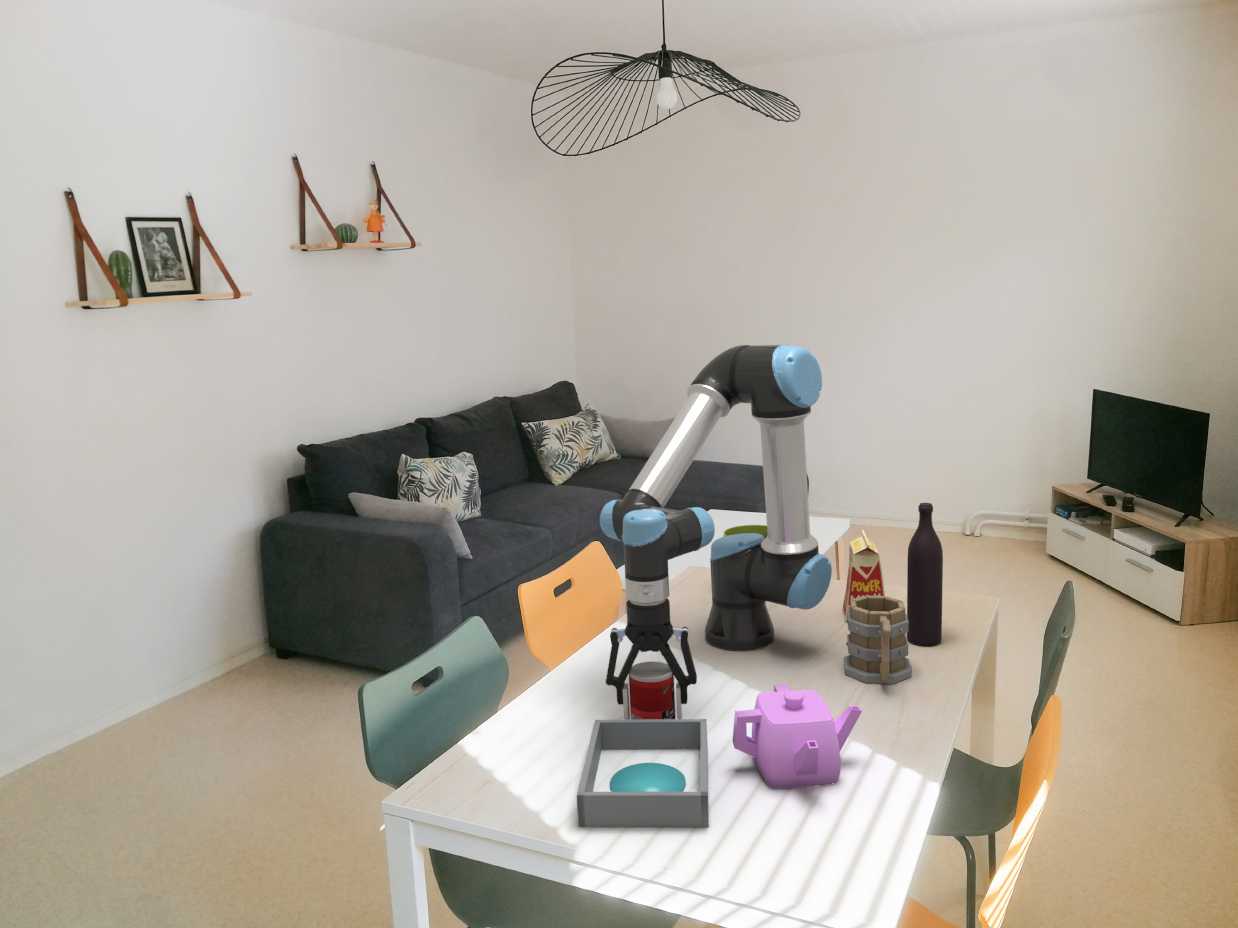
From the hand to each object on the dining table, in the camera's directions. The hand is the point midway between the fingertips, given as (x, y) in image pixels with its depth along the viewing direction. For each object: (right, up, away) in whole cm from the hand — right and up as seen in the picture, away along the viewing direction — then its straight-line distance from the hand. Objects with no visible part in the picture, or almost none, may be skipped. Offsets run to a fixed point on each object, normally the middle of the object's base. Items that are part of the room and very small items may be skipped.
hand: (653, 719), depth 166 cm
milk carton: (+50, +10, +49) cm, 71 cm away
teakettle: (+23, -3, -15) cm, 28 cm away
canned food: (0, -2, 0) cm, 2 cm away
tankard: (+45, +4, +16) cm, 47 cm away
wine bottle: (+59, +8, +33) cm, 68 cm away
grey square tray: (-2, -5, -18) cm, 19 cm away
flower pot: (+28, +13, +69) cm, 75 cm away
